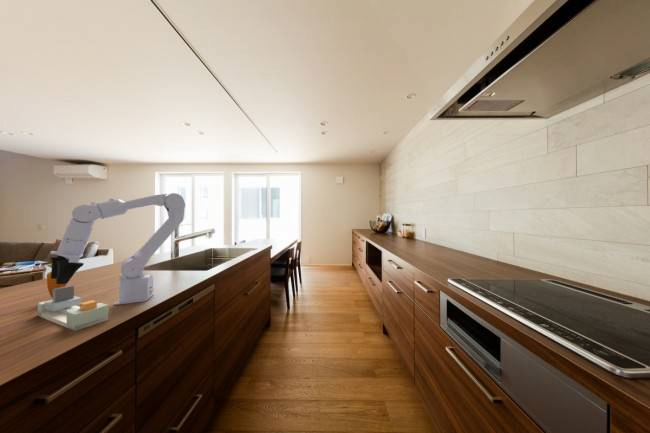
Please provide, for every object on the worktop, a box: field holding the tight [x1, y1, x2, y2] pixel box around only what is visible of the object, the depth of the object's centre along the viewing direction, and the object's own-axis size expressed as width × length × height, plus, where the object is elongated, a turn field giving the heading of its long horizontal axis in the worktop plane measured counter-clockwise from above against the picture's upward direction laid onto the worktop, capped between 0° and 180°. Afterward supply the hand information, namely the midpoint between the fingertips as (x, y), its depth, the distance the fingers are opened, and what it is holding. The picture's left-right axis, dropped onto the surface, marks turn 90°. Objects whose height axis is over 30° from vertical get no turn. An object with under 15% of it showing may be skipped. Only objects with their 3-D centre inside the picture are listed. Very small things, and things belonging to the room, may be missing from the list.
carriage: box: [45, 285, 82, 311], centre depth 69 cm, size 6×6×6 cm
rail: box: [37, 299, 110, 332], centre depth 67 cm, size 25×7×4 cm, turn 68°
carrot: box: [46, 263, 67, 299], centre depth 81 cm, size 5×5×15 cm
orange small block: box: [79, 299, 98, 311], centre depth 63 cm, size 3×3×4 cm
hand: (58, 281), depth 69 cm, fingers open, 7 cm apart
